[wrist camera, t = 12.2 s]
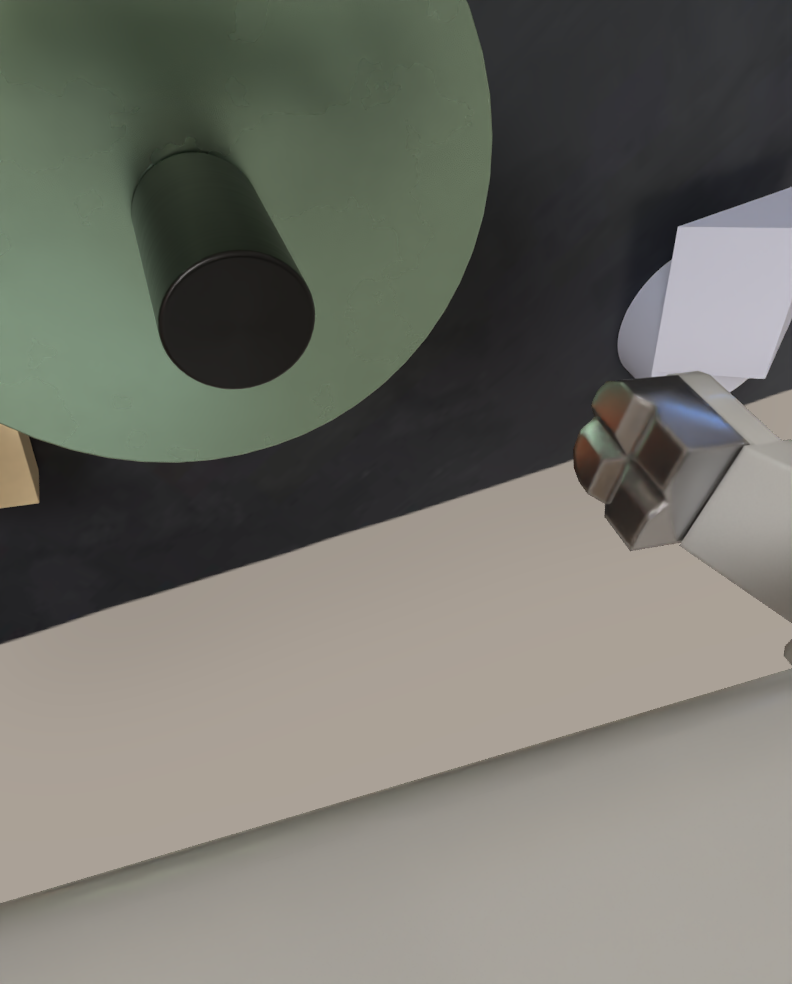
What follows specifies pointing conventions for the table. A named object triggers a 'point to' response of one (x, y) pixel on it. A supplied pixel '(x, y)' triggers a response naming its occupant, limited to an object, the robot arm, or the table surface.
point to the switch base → (17, 469)
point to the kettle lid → (227, 212)
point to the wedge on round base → (716, 297)
